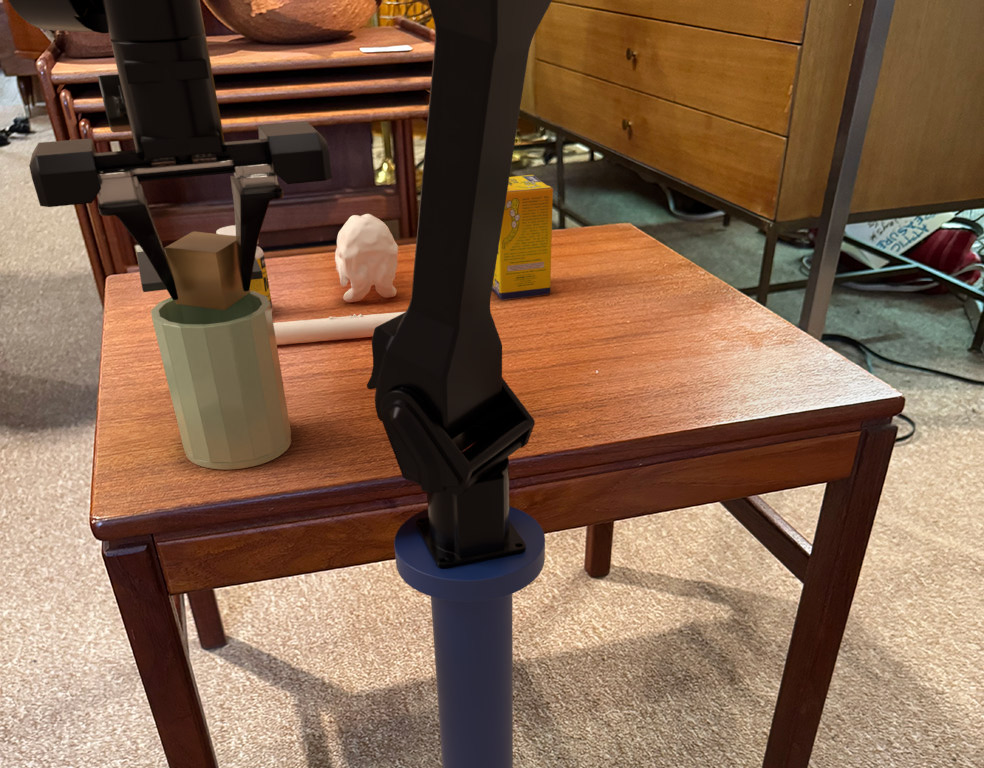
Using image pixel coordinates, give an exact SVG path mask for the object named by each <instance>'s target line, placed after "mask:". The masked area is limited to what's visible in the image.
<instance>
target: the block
mask: <svg viewBox="0 0 984 768" xmlns="http://www.w3.org/2000/svg"><path fill="white" fill-rule="evenodd" d="M164 249H165V251H166V256H167V259H168V262H169V265H170V267H171V270H172V273H173V277H174V281H175V286H176V290H177V294H178V300H176V304H180V305H188V306H196V307H203V308H211V309H219V310H226V309H228V308H229V307H230V306H232V305H233V304H235V303H236V302H237V301H239V300H240V299H241V298H243V297H244V296H246V295H247V294H248V293H250V289H249V291H246V292H244V290H243V288H242V283H241V278H240V273H239V268H238V257H237V242H236V236H231V235H222V234H216V233H211V232H203V231H191V232H190V233H188V234H186V235H185V236H183V237H181V238H179V239H178V240H176V241H174V242H172V243H170V244H168V245H167V246H165V247H164Z"/></svg>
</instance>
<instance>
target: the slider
mask: <svg viewBox="0 0 984 768" xmlns="http://www.w3.org/2000/svg"><path fill="white" fill-rule="evenodd" d="M164 251H165V248H164ZM165 254H166V251H165ZM136 258H137V264H138V270H139V276H140V277H139V278H140V284H141V288H142V292H143V293H149V292H159V291H167V289H166V287H165V286H164V284H163V282H162V281H161V279H160V277H159V276H158V274H157V272H156V271H155V269H154V267H153V266H152V264H151V262H150V261H149V259H148V257H147V256H146V254H145V253H144V251H143V250H142V251H136ZM262 278H263V274H262V270H261V268H260V266H259V264H258V262H257V260H256V258H255V260H254V266H253V272H252V278H251V280H254V279H262Z"/></svg>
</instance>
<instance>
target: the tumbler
mask: <svg viewBox="0 0 984 768" xmlns="http://www.w3.org/2000/svg"><path fill="white" fill-rule="evenodd" d="M150 315H151V321H152V325H153V329H154V333H155V337H156V340H157V345H158V348H159V349H158V350H159V353H160V357H161V362H162V365H163V369H164V375H165V377H166V382H167V387H168V390H169V394H170V398H171V399H170V400H171V403H172V406H173V411H174V414H175V415H174V416H175V418H176V423H177V427H178V430H179V431H178V432H179V436H180V439H181V443H182V447H183V451H184V455H185V457H186V458H187V460H189V461H190V462H191V463H192V464H195V465H197V466H198V467H202V468H207V469H210V470H211V469H212V470H225V471H226V470H227V471H228V470H229V471H230V470H240V469H248V468H252V467H257V466H260V465H263V464H266V463H269V462H271V461H273V460H275V459H277V458H279V457H280V456H282V455H283V454H284V453H286V452H287V451H288V450H289V448H290V446H291V444H292V430H291V425H290V424H291V423H290V418H289V411H288V405H287V400H286V399H287V398H286V393H285V386H284V381H283V374H282V368H281V362H280V355H279V351H278V349H279V348H278V345H277V343H276V337H275V331H274V325H273V323H274V319H273V311H272V312H271V306H270V303H269V300H268V298H267V297H266V296H264V295H262V294H260V293H258V292H255V291H250V293H248V294H247V295H246V296H244V297H243V298H241V299H240V300H239V301H237V302H236V303H235V304H233V305H232V306H230V307H229V308H228V309H226V310H219V309H211V308H203V307H196V306H188V305H180V304H176V300H173V299H172V298H171V297H168V298H166V299H163V300H161V301H159V302H158V303H157V304H155V306H154V307H153V308H152V309H150Z"/></svg>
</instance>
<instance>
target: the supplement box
mask: <svg viewBox="0 0 984 768" xmlns="http://www.w3.org/2000/svg"><path fill="white" fill-rule="evenodd" d="M553 197H554V188H553V187H552V186H550V185H547V184H546V183H544V182H543V181H542V180H540V179H539V178H538V177H537V176H536V175H534V174H527V175H526V174H525V175H515V176H509V183H508V189H507V196H506V202H505V209H504V215H503V222H502V228H501V235H500V241H499V247H498V254H497V260H496V267H495V273H494V280H493V286H492V292H493V293H494V294H495V295H496V297H497V298H498V299H499V300H500V301H508V300H516V299H523V298H532V297H533V298H534V297H539V296H541V297H542V296H547V295H550V294H551V285H552V284H551V283H552V282H551V280H552V238H553V237H552V235H553V201H554V200H553Z"/></svg>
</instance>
